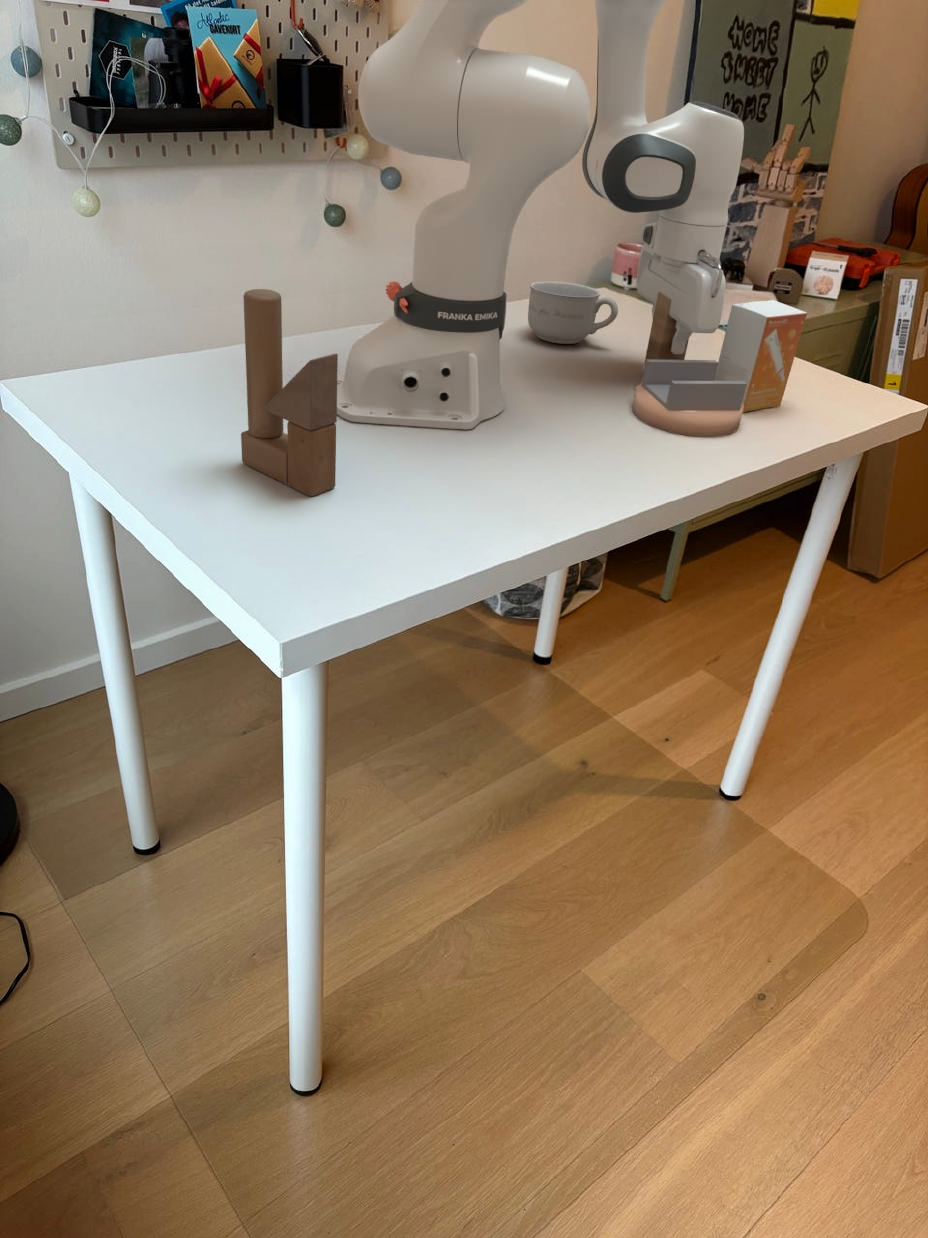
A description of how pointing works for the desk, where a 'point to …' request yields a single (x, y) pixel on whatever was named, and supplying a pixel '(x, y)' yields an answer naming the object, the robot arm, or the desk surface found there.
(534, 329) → the teacup
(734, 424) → the round base with bracket
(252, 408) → the brown wooden block assembly
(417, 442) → the desk surface
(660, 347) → the wood grain beam
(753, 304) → the small box
